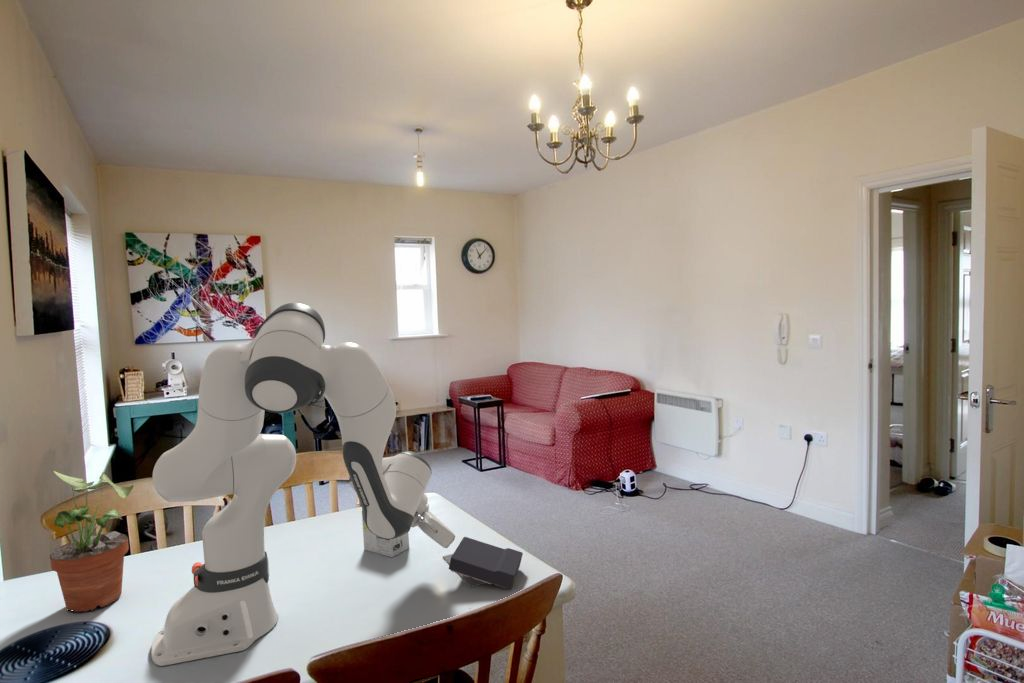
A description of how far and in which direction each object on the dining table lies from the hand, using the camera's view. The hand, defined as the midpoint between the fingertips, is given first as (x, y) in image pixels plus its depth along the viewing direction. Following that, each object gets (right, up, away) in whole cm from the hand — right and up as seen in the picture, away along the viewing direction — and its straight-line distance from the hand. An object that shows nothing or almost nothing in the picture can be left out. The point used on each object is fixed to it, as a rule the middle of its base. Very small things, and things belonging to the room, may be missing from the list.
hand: (451, 539), depth 136 cm
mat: (+6, -8, +4) cm, 11 cm away
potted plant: (-79, -12, -6) cm, 80 cm away
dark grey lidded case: (+1, -3, -1) cm, 3 cm away
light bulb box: (-19, -8, +16) cm, 26 cm away
